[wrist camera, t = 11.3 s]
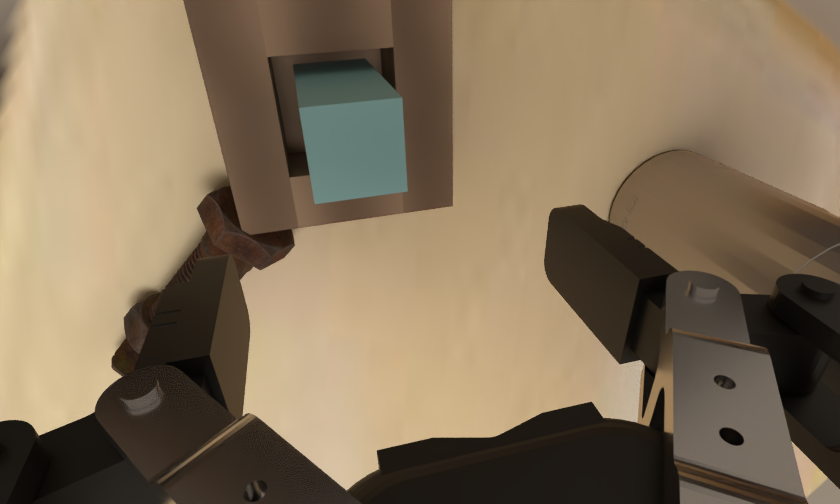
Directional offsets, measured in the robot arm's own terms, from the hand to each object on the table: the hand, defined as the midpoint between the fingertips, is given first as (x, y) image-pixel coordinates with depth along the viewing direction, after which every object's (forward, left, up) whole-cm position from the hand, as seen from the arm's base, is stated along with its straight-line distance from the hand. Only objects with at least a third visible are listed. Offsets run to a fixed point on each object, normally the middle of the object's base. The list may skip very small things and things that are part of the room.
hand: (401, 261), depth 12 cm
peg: (0, 0, -19) cm, 19 cm away
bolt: (+11, +11, -20) cm, 25 cm away
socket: (0, 0, -20) cm, 20 cm away
